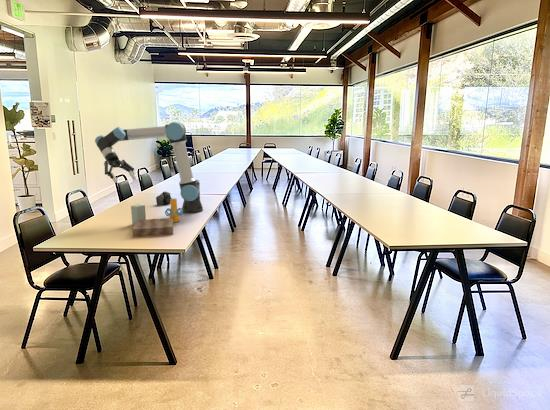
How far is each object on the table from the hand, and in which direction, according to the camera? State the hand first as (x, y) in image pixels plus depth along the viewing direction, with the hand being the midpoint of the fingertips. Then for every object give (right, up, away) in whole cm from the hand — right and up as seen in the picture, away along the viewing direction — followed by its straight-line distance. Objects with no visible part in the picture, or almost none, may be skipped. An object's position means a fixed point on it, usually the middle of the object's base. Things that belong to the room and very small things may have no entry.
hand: (125, 180), depth 246 cm
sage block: (+9, -28, 0) cm, 29 cm away
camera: (+8, -15, +61) cm, 63 cm away
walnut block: (+23, -32, -16) cm, 42 cm away
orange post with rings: (+30, -27, +6) cm, 40 cm away
